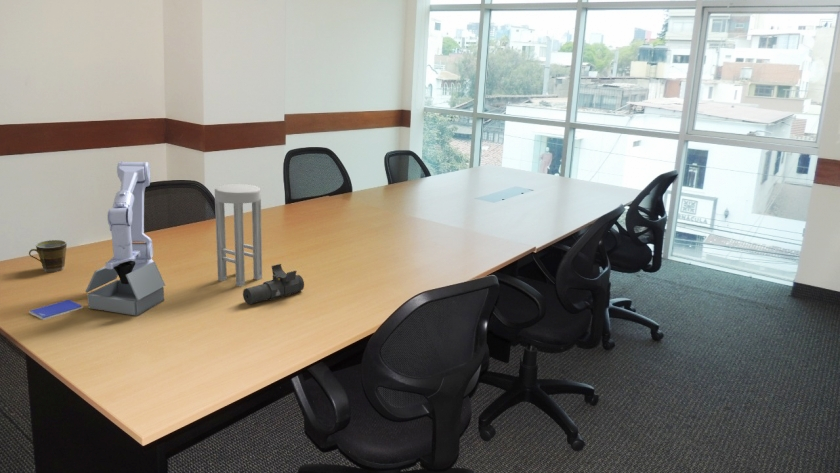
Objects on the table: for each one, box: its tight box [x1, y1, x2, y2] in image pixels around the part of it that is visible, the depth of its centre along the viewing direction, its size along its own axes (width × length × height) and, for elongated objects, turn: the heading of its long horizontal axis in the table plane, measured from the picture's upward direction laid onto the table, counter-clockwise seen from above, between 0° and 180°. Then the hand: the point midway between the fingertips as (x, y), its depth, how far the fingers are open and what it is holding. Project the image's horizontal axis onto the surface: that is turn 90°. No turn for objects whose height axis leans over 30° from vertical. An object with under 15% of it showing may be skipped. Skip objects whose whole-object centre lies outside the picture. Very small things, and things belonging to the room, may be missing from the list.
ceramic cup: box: [28, 239, 67, 273], centre depth 240 cm, size 13×10×10 cm
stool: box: [214, 183, 263, 287], centre depth 238 cm, size 16×16×35 cm
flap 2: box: [126, 260, 166, 300], centre depth 210 cm, size 14×9×1 cm
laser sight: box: [242, 263, 305, 305], centre depth 226 cm, size 10×22×10 cm, turn 137°
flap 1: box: [85, 265, 119, 293], centre depth 214 cm, size 14×9×1 cm
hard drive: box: [28, 299, 83, 321], centre depth 207 cm, size 2×8×12 cm
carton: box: [87, 279, 165, 317], centre depth 214 cm, size 15×18×5 cm
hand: (125, 283), depth 213 cm, fingers closed
